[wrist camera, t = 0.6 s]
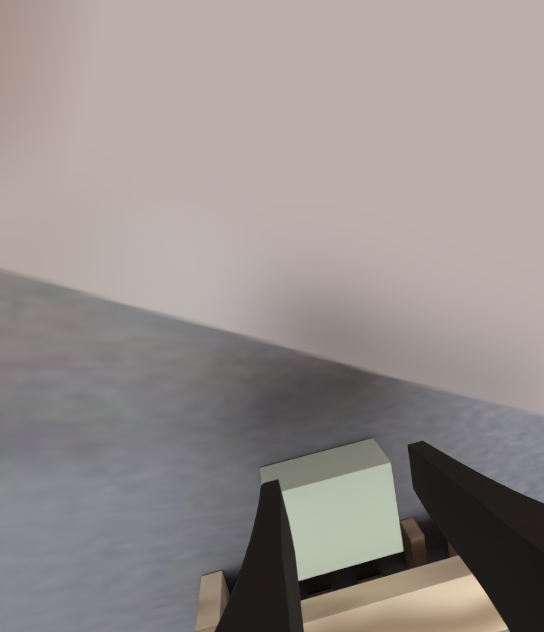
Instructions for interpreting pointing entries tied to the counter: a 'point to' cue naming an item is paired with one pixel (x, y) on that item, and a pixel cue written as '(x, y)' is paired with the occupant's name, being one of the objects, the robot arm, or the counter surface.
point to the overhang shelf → (385, 598)
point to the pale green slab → (339, 507)
